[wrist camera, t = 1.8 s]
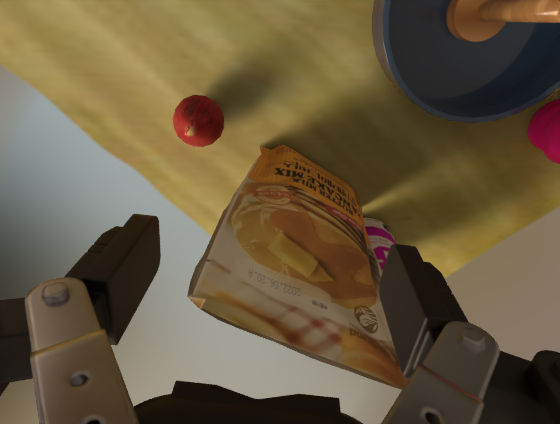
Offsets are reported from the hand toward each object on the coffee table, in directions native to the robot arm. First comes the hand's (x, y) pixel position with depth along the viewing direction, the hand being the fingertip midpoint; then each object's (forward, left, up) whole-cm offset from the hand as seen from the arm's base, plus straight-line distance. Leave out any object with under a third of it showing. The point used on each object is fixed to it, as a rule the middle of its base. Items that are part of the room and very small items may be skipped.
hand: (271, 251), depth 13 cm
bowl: (-10, +19, -36) cm, 42 cm away
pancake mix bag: (+12, +4, -36) cm, 39 cm away
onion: (+4, -10, -36) cm, 38 cm away
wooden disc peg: (-10, +19, -36) cm, 41 cm away
